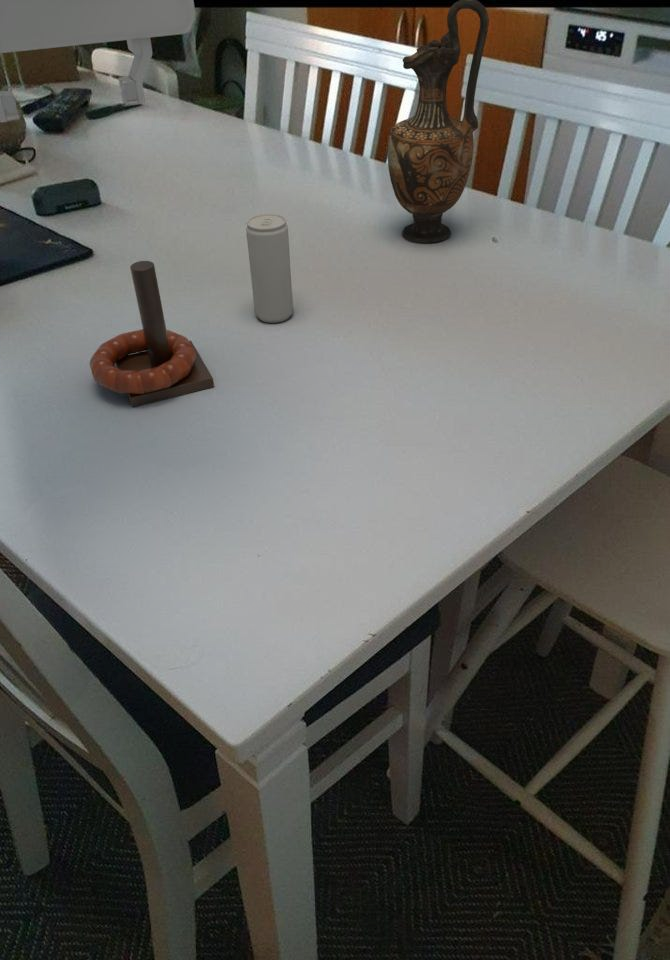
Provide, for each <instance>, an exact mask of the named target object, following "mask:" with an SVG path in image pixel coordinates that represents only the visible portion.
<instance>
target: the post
mask: <svg viewBox="0 0 670 960" xmlns="http://www.w3.org/2000/svg"><path fill="white" fill-rule="evenodd" d="M129 268H130V275H131V278H132V283H133V288H134V292H135V298H136V303H137V307H138V312H139V315H140V316H139V317H140V322H141V326H142V327H141V328H142V329H143V332H144V336H145V341H146V346H147V351H142V352H138V353H133V354H129V355H127V356H125V357H124V358H122V359H120V360H118V361H117V362H116V363H115V365H114V366H115V367H116V368H118V369H121V370H130V371H141V370H145V369H150V368H154V367H158V366H160V365H162V364H164V363H165V362H167V361H169V360H170V359H171V358H172V356H173V355H172V354H171V352H170V346H169V341H168V336H167V330H168V329H167V325H166V321H165V320H166V319H165V314H164V309H163V305H162V299H161V294H160V289H159V282H158V277H157V272H156V267H155V263H154V262H153V261H150V260H140V261H136V262H133V263H132V264H131V265H130V267H129ZM189 341H190V343H191V345H192V347H193V349H194V350H195V352H196V361H195V363H194V365H193V367H192V369H191V371H190V373H189V374H188V375H187V376H186V377H185V378H183V379H182V380H180V381H178V382H177V383H175V384H173V385H172V386H170V387H168V388H165V389H161V390H157V391H153V392H149V393H145V394H132V393H126V394H127V396H128V400H129V402H130V405H131V406H132V408H135V407H140V406H144V405H147V404H151V403H156V402H160V401H163V400H167V399H168V400H169V399H171V398H176V397H180V396H183V395H188V394H191V393H192V394H193V393H196V392H200V391H205V390H208V389H212V388H214V387H215V383H214V377H213V375H212V374H211V372H210V370H209V369H208V367H207V366H206V365H207V364H205V362H204V360H203V358H202V357H201V355H200V353H199V351H198V350H197V348H196V347H195V345H194V343H193V341H192V340H189Z"/></svg>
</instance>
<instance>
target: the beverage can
mask: <svg viewBox="0 0 670 960" xmlns="http://www.w3.org/2000/svg"><path fill="white" fill-rule="evenodd" d="M245 232H246V241H247V250H248V251H247V252H248V261H249V270H250V271H249V272H250V279H251V289H252V298H253V307H254V308H253V309H254V315H255V316H256V317H257V318H258V319H259V320H260V321H262V322H264V323H268V324H269V323H270V324H276V323H281V322H284V321H287V320H288V319H290V318H291V316H292V315H293V314H294V301H293V288H292V287H293V286H292V274H291V272H292V271H291V256H290V255H291V254H290V253H291V252H290V238H289V226H288V224H287V219H286V217H285V216H284V215H281V214H277V213H261V214H255V215H253V216H251V217H249V218H248V219H247V220H246V227H245Z"/></svg>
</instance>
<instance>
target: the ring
mask: <svg viewBox="0 0 670 960" xmlns="http://www.w3.org/2000/svg"><path fill="white" fill-rule="evenodd" d="M166 330H167V336H168V341H169V346H170V352H171V354H172V355H173V356H172V358H171V359H170V360H169V361H167V362H165V363H164V364H162V365H160V366H158V367H154V368H150V369H145V370H141V371H130V370H121V369H118V368H116V365H115V363H116V362H117V361H118V360H120V359H122V358H124V357H125V356H127V355H130V354H135V353H139V352H143V351H147V346H146V341H145V336H144V332H143V328H142V329H138V330H137V329H136V330H133V331H129V332H123V333H120V334H118V335H116V336H114V337H112V338H111V339H108V340H107V341H105V342H103V343H101V344H99V346H98V348H97V349H96V351H95V352H94V353H93V355H92V356H91V358H90V360H89V367H90V371H91V374H92V377H93V379H94V381H95V382H96V383H97V384H98V385H100V386H102V387H104V388H105V389H108V390H110V391H112V392H114V393H118V394H127V393H132V394H145V393H149V392H153V391H157V390H161V389H165V388H168V387H170V386H172V385H173V384H175V383H177V382H178V381H180V380H182V379H183V378H185V377H186V376H187V375H188V374H189V373H190V371H191V369H192V367H193V365H194V363H195V361H196V352H195V350H194V349H193V347H192V345H191V343H190V341H191V340H189V339H188V338H187V337H186V336H184V335H182V334H179V333H178V332H177V333H176V332H174V331H172V330H170V329H166Z"/></svg>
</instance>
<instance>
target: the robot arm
mask: <svg viewBox="0 0 670 960" xmlns="http://www.w3.org/2000/svg"><path fill="white" fill-rule="evenodd" d="M195 18H196V9H195V2H194V0H0V54H7V53H16V52H25V51H35V50H36V51H37V50H43V49H44V50H45V49H53V48H63V47H73V46H80V45H81V46H82V45H92V44H101V43H102V44H103V43H110V42H111V43H112V42H120V41H126V44H127V48H128V49H127V50H129V51H130V52H132V54H134V56H133V59H132V62H131V66H130V69H129V71H128V75H127V76H121V77H120V76H119V77H117V78H118V84H119V88H120V89H121V92H120V96H121V100H122V103H123V104H124V105H125V106H126V107H127V106H128V107H129V106H137V105H145V104H146V97H145V91H144V85H143V80H144V79H145V77H146V74H147V71H148V68H149V65H150V63H151V59H152V57H153V47H152V40H151V38H157V37H167V36H176V35H185V34H187V33H188V32H189V31H190V30H191V27H192V26H193V24H194V21H195ZM20 120H21V118H20V113H19V110H18V108H17V101H16V97H15V95H14V92H13V90H3V91H2V90H0V123H7V122H14V121H20Z"/></svg>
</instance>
